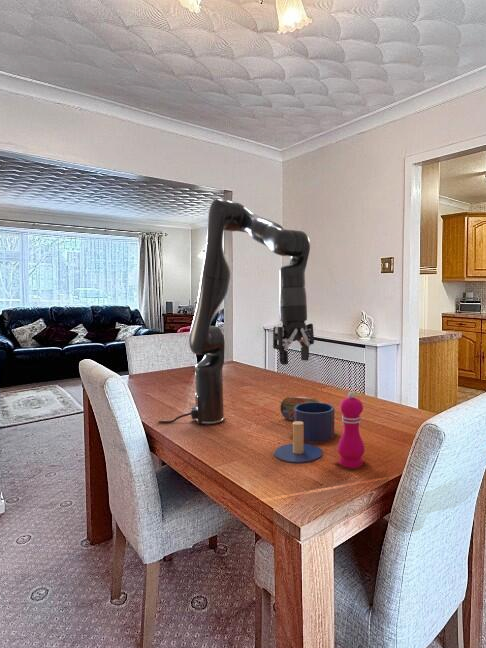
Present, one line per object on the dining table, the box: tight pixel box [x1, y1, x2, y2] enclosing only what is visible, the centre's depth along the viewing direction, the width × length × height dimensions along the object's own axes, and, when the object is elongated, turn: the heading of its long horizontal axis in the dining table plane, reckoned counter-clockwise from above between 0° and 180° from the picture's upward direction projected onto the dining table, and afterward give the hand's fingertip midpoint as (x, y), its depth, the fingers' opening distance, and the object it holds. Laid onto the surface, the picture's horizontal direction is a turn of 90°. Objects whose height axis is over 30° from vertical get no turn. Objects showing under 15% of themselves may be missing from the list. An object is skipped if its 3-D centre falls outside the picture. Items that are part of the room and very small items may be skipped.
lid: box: [273, 421, 323, 464], centre depth 128 cm, size 14×14×10 cm
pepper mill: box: [337, 391, 366, 469], centre depth 121 cm, size 7×7×20 cm
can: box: [293, 401, 335, 443], centre depth 144 cm, size 13×13×9 cm
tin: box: [279, 395, 320, 422], centre depth 160 cm, size 15×3×8 cm, turn 68°
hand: (294, 362), depth 127 cm, fingers open, 8 cm apart
